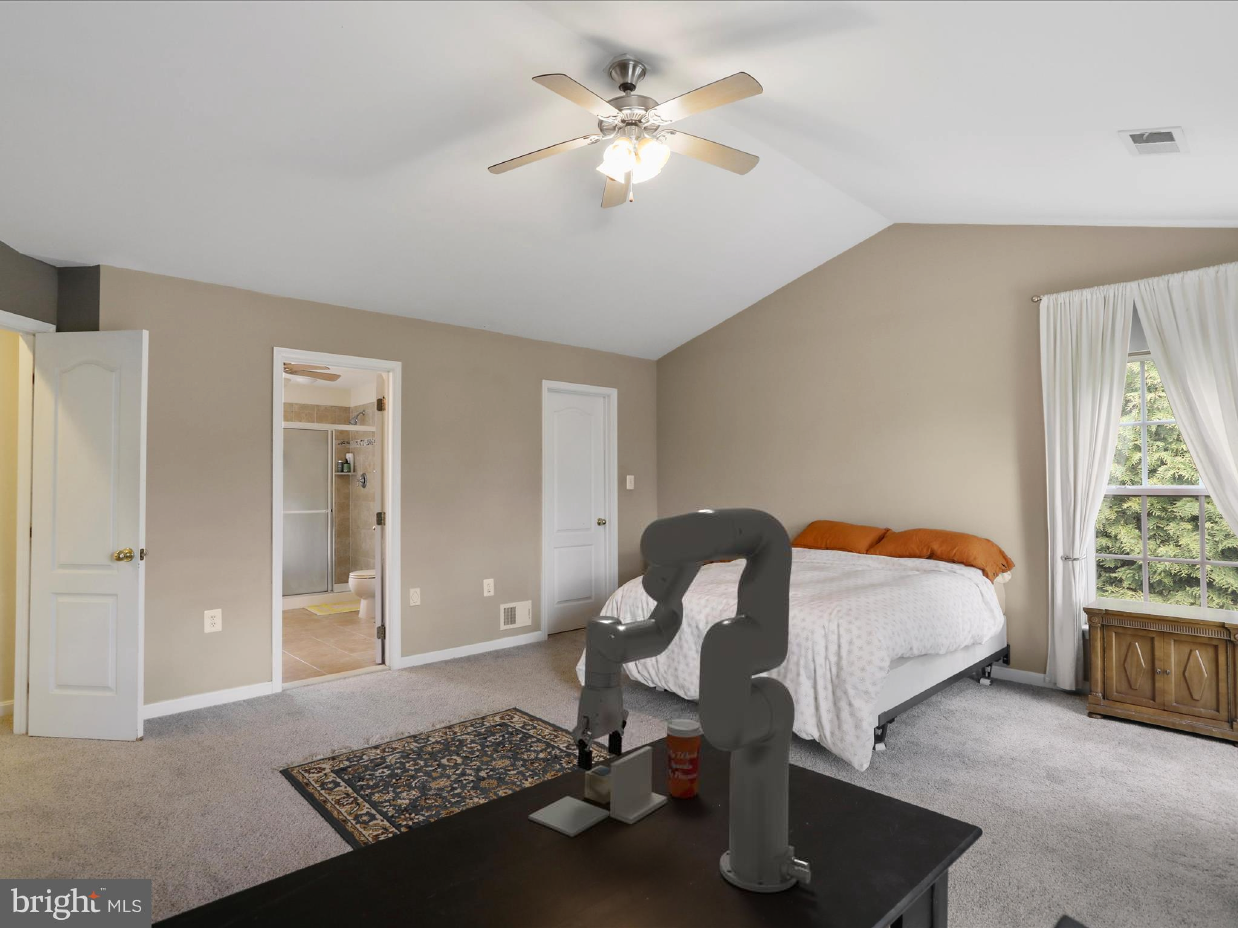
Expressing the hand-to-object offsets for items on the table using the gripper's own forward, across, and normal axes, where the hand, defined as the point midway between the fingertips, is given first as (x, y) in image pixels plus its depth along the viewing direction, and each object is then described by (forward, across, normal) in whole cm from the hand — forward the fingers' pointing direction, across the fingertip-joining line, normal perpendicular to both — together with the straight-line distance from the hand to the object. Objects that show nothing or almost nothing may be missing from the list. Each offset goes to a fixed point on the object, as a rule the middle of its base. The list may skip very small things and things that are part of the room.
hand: (600, 761), depth 146 cm
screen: (+6, 0, +10) cm, 12 cm away
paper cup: (+7, -12, +13) cm, 19 cm away
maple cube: (+7, 0, +1) cm, 7 cm away
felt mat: (+7, +11, +2) cm, 13 cm away
